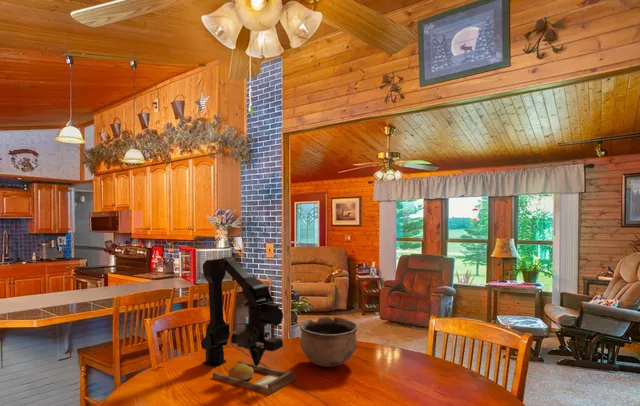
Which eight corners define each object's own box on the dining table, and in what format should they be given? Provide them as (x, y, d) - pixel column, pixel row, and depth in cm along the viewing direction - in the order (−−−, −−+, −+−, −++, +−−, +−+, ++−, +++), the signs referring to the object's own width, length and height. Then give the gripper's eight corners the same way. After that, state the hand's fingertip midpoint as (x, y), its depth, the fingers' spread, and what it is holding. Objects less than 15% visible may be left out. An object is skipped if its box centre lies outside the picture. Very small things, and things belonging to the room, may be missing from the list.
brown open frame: (212, 378, 146) (212, 369, 146) (239, 365, 158) (239, 356, 158) (270, 395, 133) (270, 385, 133) (294, 379, 146) (294, 370, 146)
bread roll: (237, 383, 141) (237, 371, 141) (225, 376, 148) (224, 364, 148) (258, 376, 146) (258, 364, 147) (246, 369, 153) (245, 358, 153)
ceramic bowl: (345, 350, 174) (345, 314, 174) (367, 370, 154) (367, 329, 154) (293, 357, 167) (293, 319, 167) (309, 378, 147) (309, 335, 147)
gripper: (220, 322, 143) (220, 367, 143) (263, 330, 134) (263, 379, 134) (241, 314, 153) (241, 357, 153) (283, 322, 143) (283, 367, 143)
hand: (256, 365), depth 145 cm, fingers closed
